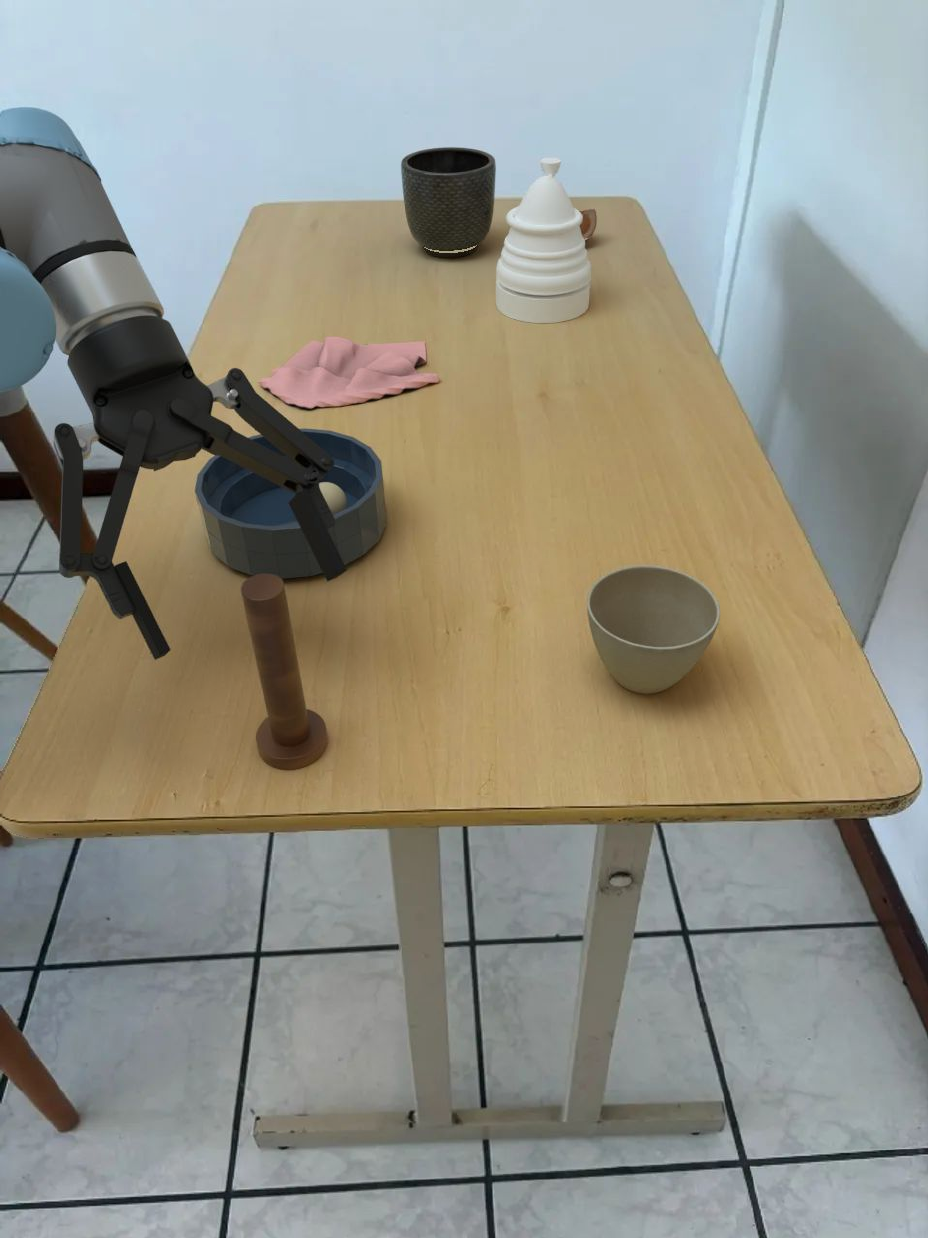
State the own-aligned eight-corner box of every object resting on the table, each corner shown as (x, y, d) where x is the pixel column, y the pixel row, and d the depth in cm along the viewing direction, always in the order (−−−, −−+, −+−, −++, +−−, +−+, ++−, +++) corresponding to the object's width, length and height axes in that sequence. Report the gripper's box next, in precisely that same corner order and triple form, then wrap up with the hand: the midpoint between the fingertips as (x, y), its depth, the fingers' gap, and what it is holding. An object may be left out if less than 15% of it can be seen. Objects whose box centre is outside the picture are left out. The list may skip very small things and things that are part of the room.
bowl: (200, 591, 86) (186, 536, 82) (215, 486, 99) (203, 435, 95) (391, 574, 87) (387, 520, 83) (381, 473, 100) (377, 422, 96)
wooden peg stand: (256, 773, 70) (218, 615, 60) (259, 721, 74) (224, 565, 64) (328, 766, 70) (302, 608, 60) (327, 714, 74) (302, 558, 64)
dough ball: (307, 534, 91) (302, 499, 89) (307, 510, 94) (302, 475, 92) (349, 530, 92) (345, 495, 89) (348, 507, 95) (344, 472, 92)
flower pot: (732, 682, 76) (749, 614, 72) (638, 736, 72) (649, 667, 67) (647, 615, 82) (656, 548, 78) (555, 661, 78) (560, 594, 74)
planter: (493, 266, 143) (494, 174, 135) (400, 265, 144) (395, 174, 135) (496, 233, 154) (497, 146, 145) (410, 232, 154) (405, 146, 146)
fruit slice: (548, 254, 146) (549, 220, 143) (535, 238, 151) (536, 206, 148) (600, 248, 148) (602, 215, 145) (585, 233, 153) (588, 201, 149)
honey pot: (508, 281, 138) (509, 147, 127) (596, 289, 136) (606, 153, 124) (485, 317, 129) (485, 176, 117) (579, 327, 126) (589, 184, 115)
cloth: (236, 392, 114) (232, 373, 113) (339, 323, 129) (337, 305, 127) (381, 432, 107) (379, 412, 105) (473, 353, 121) (473, 335, 120)
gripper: (264, 314, 75) (384, 558, 76) (-68, 414, 64) (76, 698, 65) (288, 267, 68) (419, 534, 69) (-78, 368, 57) (83, 686, 58)
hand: (254, 614), depth 67 cm, fingers open, 13 cm apart
